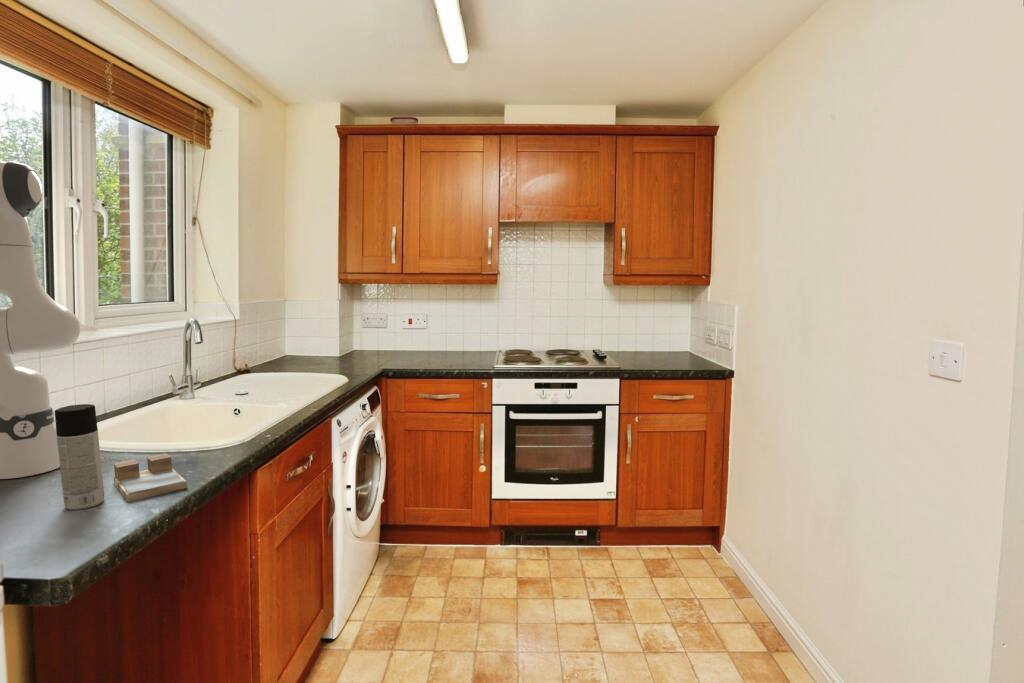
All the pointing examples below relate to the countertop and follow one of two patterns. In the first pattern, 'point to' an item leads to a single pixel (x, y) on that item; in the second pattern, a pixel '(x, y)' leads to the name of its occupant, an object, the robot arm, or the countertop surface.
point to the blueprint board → (147, 478)
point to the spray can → (79, 456)
